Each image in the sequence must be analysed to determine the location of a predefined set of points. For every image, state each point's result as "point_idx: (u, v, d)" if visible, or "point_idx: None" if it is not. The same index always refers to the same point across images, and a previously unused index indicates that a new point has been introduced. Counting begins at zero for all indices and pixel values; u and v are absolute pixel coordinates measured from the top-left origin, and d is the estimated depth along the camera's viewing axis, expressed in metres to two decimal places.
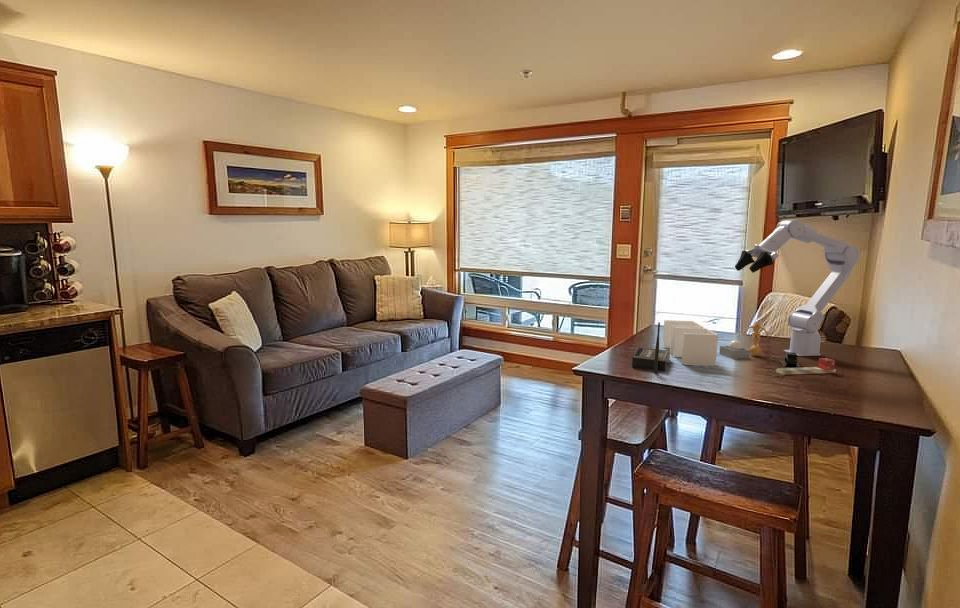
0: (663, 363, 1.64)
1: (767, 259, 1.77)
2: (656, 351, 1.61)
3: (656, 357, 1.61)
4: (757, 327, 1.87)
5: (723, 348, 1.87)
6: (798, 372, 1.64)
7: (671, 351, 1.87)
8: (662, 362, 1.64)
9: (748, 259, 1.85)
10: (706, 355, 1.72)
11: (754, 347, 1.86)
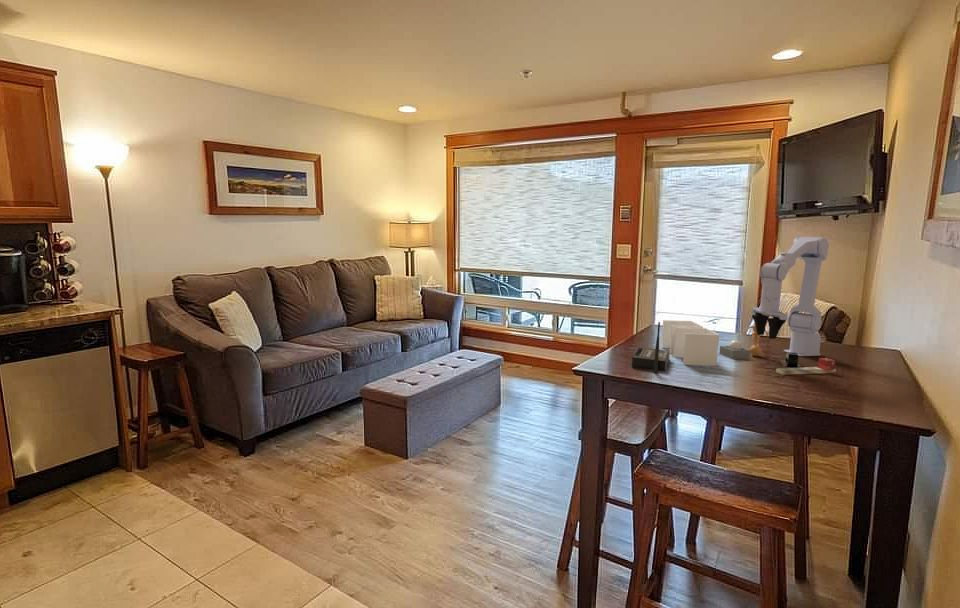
0: (663, 363, 1.64)
1: (778, 320, 1.71)
2: (656, 351, 1.61)
3: (656, 357, 1.61)
4: None
5: (723, 348, 1.87)
6: (798, 372, 1.64)
7: (671, 351, 1.87)
8: (662, 362, 1.64)
9: (763, 319, 1.78)
10: (707, 355, 1.72)
11: (754, 347, 1.86)
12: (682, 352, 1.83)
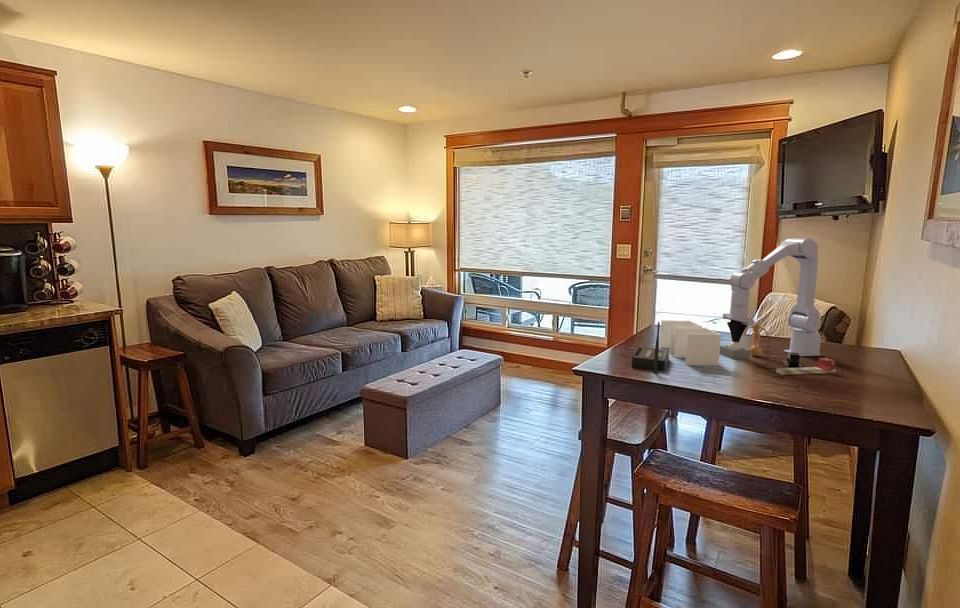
0: (663, 363, 1.64)
1: None
2: (656, 351, 1.61)
3: (656, 357, 1.61)
4: (757, 327, 1.87)
5: (723, 348, 1.87)
6: (798, 372, 1.64)
7: (671, 351, 1.86)
8: (662, 362, 1.64)
9: None
10: (709, 355, 1.72)
11: (754, 347, 1.86)
12: (682, 352, 1.83)
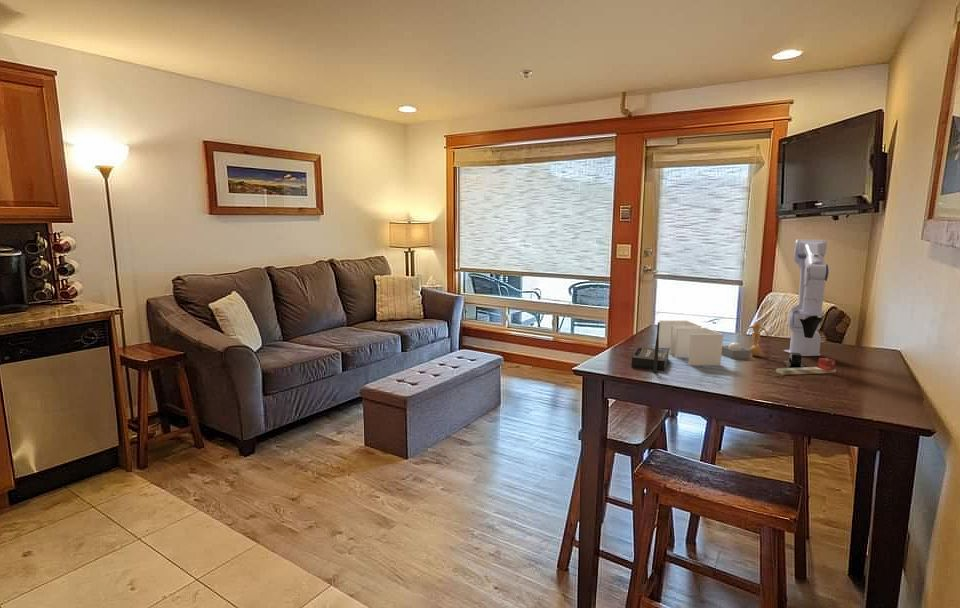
0: (662, 363, 1.64)
1: (809, 320, 1.74)
2: (656, 351, 1.61)
3: (656, 357, 1.61)
4: (757, 327, 1.87)
5: (723, 348, 1.87)
6: (798, 372, 1.64)
7: (671, 352, 1.86)
8: (661, 362, 1.65)
9: None
10: (712, 355, 1.73)
11: (754, 347, 1.86)
12: (683, 352, 1.83)
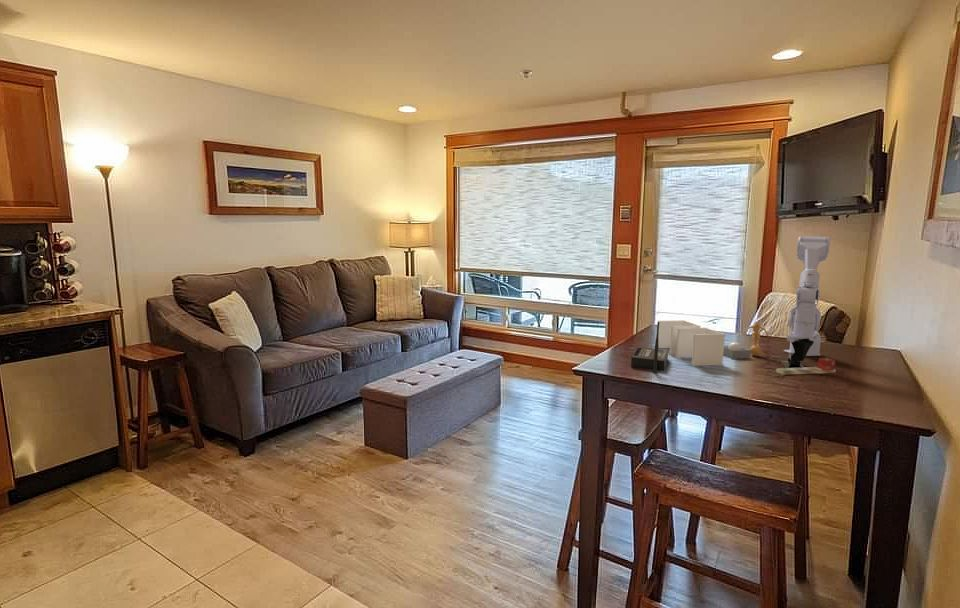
0: (662, 363, 1.65)
1: (800, 342, 1.74)
2: (655, 351, 1.61)
3: (655, 357, 1.61)
4: (757, 327, 1.87)
5: None
6: (798, 372, 1.64)
7: (671, 352, 1.86)
8: (661, 362, 1.65)
9: None
10: (714, 355, 1.73)
11: (754, 347, 1.86)
12: (684, 352, 1.83)
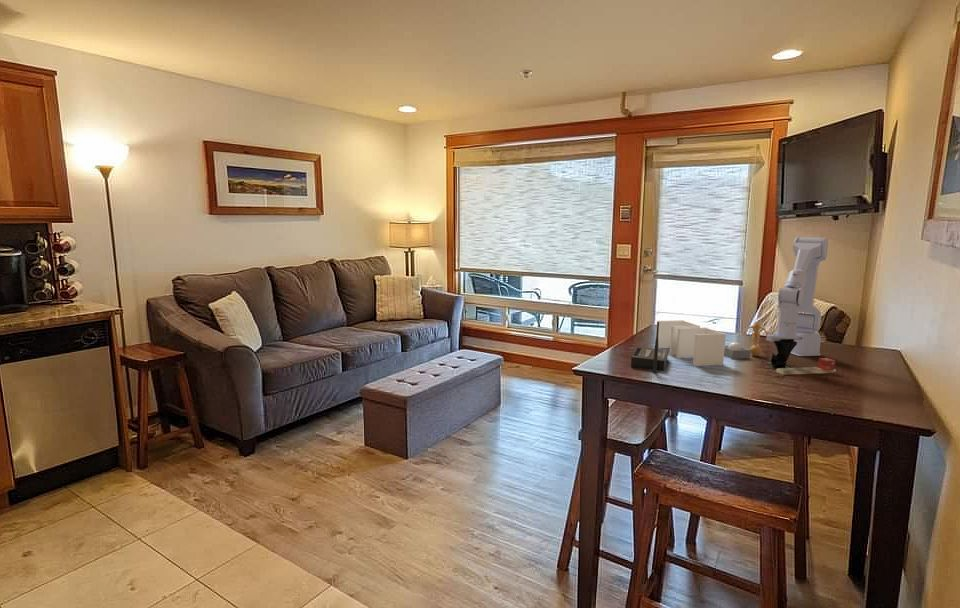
0: (662, 362, 1.65)
1: (782, 343, 1.73)
2: (655, 351, 1.61)
3: (655, 357, 1.61)
4: (757, 327, 1.87)
5: None
6: (798, 372, 1.64)
7: (672, 352, 1.85)
8: (661, 361, 1.65)
9: None
10: (715, 355, 1.73)
11: (754, 347, 1.86)
12: (684, 352, 1.82)
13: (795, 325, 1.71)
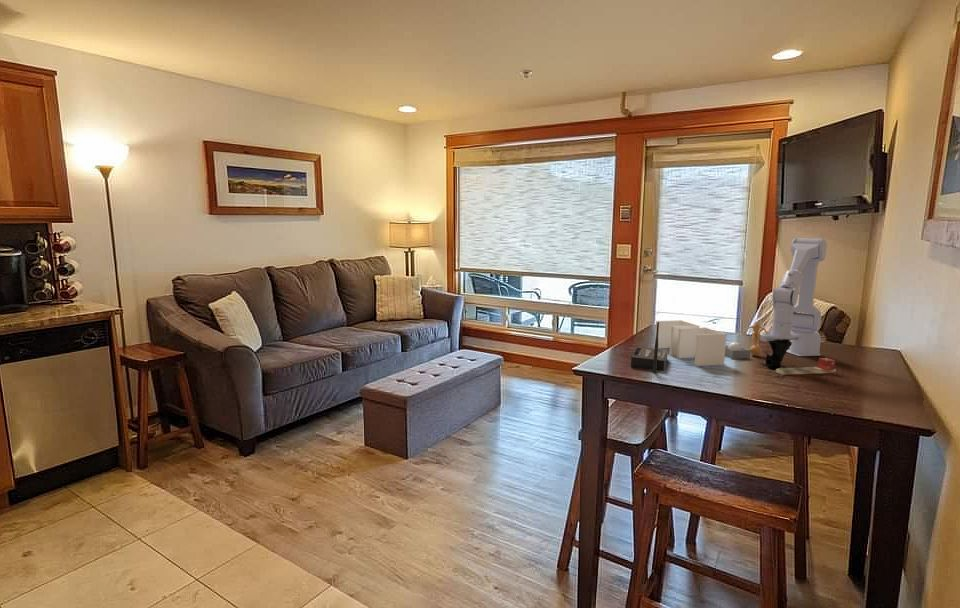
0: (662, 362, 1.65)
1: None
2: (655, 350, 1.61)
3: (655, 356, 1.61)
4: (757, 327, 1.87)
5: None
6: (798, 372, 1.64)
7: (672, 352, 1.85)
8: (661, 361, 1.65)
9: None
10: (716, 354, 1.73)
11: (754, 347, 1.86)
12: (684, 352, 1.82)
13: (789, 325, 1.70)
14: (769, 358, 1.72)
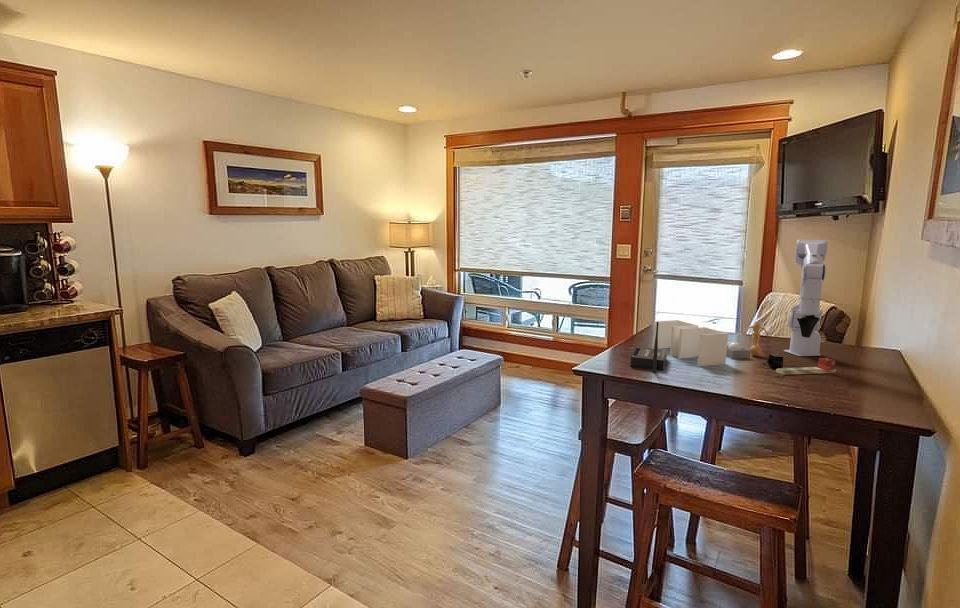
0: (661, 362, 1.65)
1: (806, 319, 1.74)
2: (655, 350, 1.61)
3: (655, 356, 1.62)
4: (757, 327, 1.87)
5: None
6: (798, 372, 1.64)
7: (672, 352, 1.85)
8: (660, 361, 1.65)
9: None
10: (719, 354, 1.74)
11: (754, 347, 1.86)
12: (685, 353, 1.82)
13: (819, 301, 1.72)
14: (771, 358, 1.72)
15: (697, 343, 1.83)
